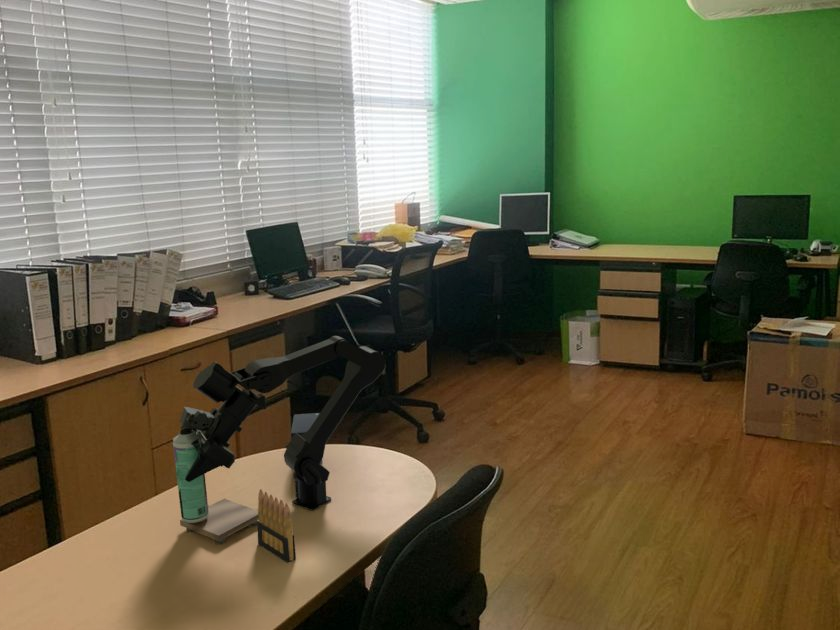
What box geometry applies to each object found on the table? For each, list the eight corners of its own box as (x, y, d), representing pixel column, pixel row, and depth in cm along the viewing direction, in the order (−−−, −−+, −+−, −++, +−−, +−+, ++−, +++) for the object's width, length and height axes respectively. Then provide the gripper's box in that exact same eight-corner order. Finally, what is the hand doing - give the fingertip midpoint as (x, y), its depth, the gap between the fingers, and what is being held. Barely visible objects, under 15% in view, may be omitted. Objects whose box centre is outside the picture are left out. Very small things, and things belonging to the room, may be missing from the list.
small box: (295, 457, 200) (293, 413, 198) (322, 456, 201) (320, 412, 199) (293, 479, 188) (290, 432, 185) (321, 477, 188) (319, 430, 186)
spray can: (212, 510, 165) (203, 421, 160) (203, 523, 159) (193, 431, 155) (187, 510, 165) (177, 421, 161) (177, 522, 160) (166, 431, 156)
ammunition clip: (296, 559, 151) (293, 502, 149) (288, 563, 150) (285, 506, 147) (265, 540, 159) (262, 486, 156) (257, 544, 157) (254, 489, 155)
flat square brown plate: (263, 522, 166) (262, 512, 166) (219, 546, 157) (218, 535, 156) (225, 508, 173) (224, 498, 172) (181, 531, 163) (179, 520, 163)
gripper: (191, 381, 166) (144, 440, 164) (212, 406, 150) (160, 472, 148) (231, 408, 172) (186, 466, 169) (255, 435, 155) (206, 500, 153)
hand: (183, 475), depth 160 cm, fingers closed on spray can, 5 cm apart
